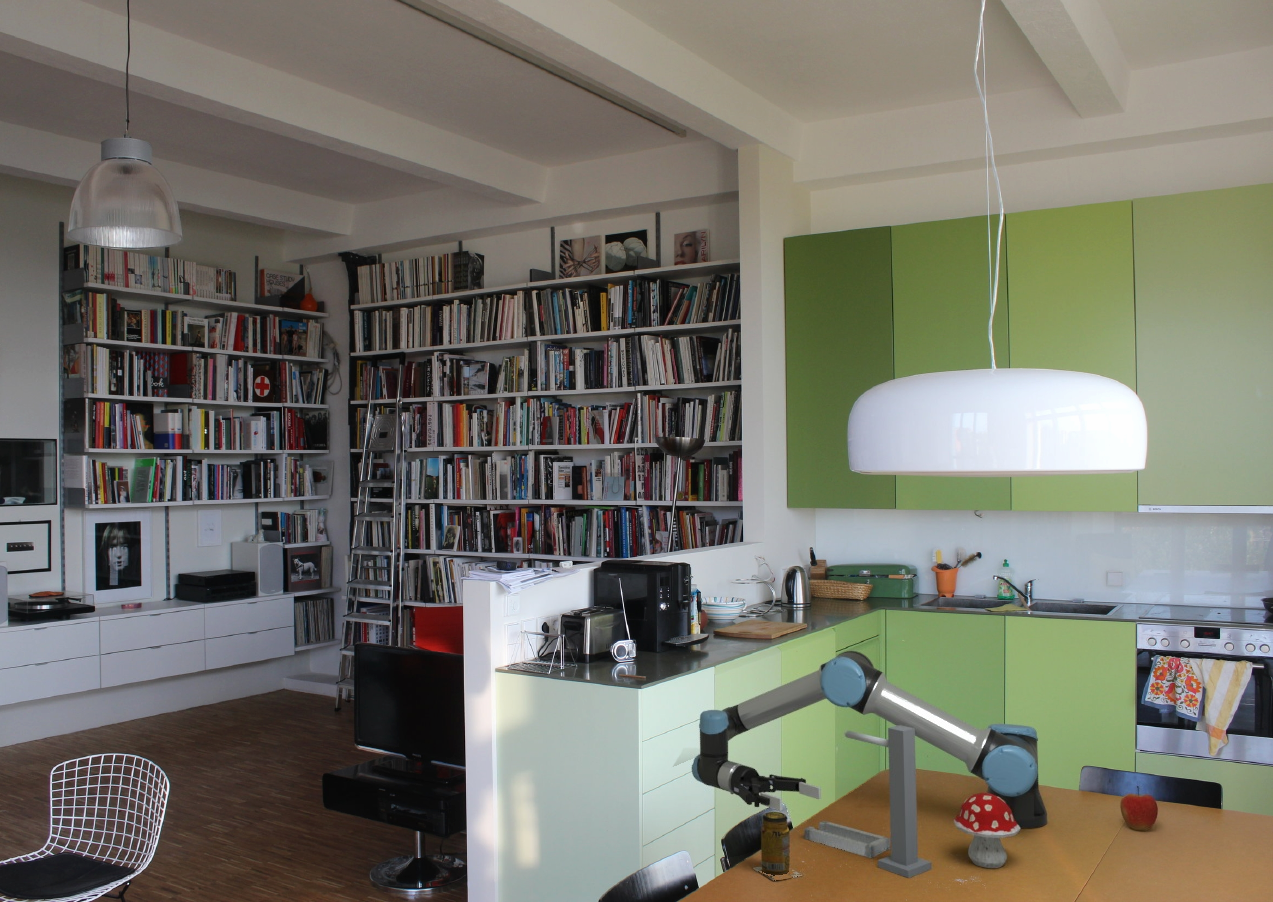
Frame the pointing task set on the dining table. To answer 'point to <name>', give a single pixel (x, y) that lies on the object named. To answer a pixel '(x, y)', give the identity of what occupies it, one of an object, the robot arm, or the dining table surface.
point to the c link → (848, 839)
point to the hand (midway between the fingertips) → (800, 798)
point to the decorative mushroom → (986, 828)
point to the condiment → (775, 845)
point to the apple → (1139, 811)
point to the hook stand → (900, 801)
